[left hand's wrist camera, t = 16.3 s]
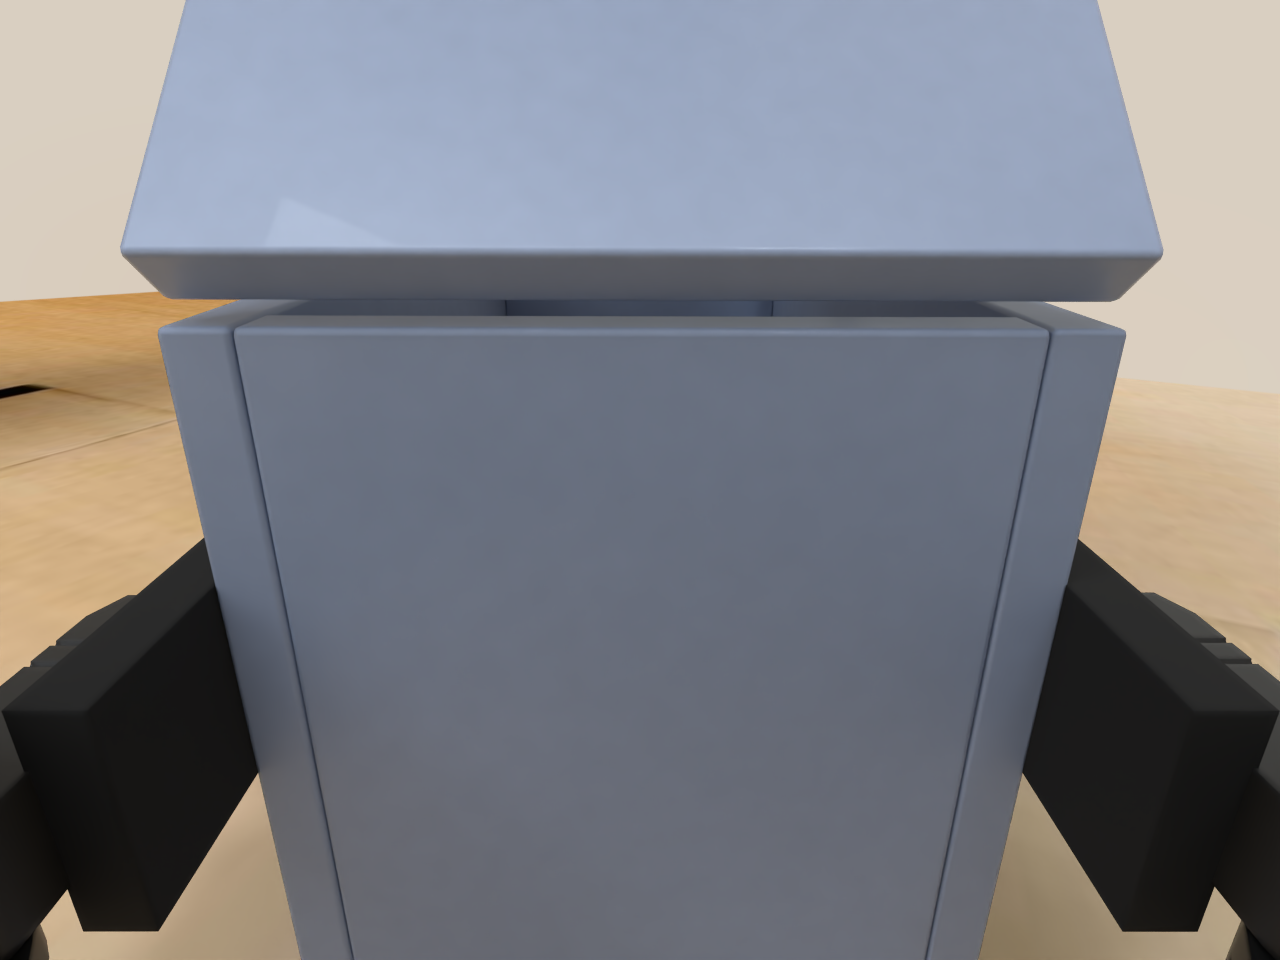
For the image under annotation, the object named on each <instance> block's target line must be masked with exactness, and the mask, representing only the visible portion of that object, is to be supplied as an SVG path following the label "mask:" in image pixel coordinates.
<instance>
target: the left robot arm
mask: <svg viewBox="0 0 1280 960" xmlns="http://www.w3.org/2000/svg"><path fill="white" fill-rule="evenodd" d="M1022 772H1023V774H1024V776H1025V777H1026V779H1027V780H1028V782H1029V784H1030V785H1031V787H1032V788H1033V790H1034V792H1035V793H1036V795H1037V796H1038V798H1039V799H1040V801H1041V803H1042V804H1043V806H1044V807H1045V809H1046V811H1047V812H1048V814H1049V815H1050V817H1051V819H1052V820H1053V822H1054V823H1055V825H1056V826H1057V828H1058V830H1059V831H1060V833H1061V834H1062V836H1063V838H1064V839H1065V841H1066V842H1067V844H1068V846H1069V847H1070V849H1071V850H1072V852H1073V853H1074V855H1075V857H1076V858H1077V860H1078V861H1079V863H1080V865H1081V866H1082V868H1083V869H1084V871H1085V873H1086V874H1087V876H1088V877H1089V879H1090V881H1091V882H1092V884H1093V885H1094V887H1095V888H1096V890H1097V892H1098V893H1099V895H1100V896H1101V898H1102V900H1103V901H1104V903H1105V904H1106V906H1107V908H1108V909H1109V911H1110V912H1111V914H1112V915H1113V917H1114V919H1115V920H1116V922H1117V923H1118V925H1119V927H1120V928H1121V930H1122V931H1123V932H1198V929H1199V927H1200V924H1201V921H1202V919H1203V916H1204V913H1205V910H1206V908H1207V905H1208V902H1209V900H1210V897H1211V894H1212V892H1213V889H1214V886H1215V887H1216V889H1217V890H1218V891H1219V892H1220V894H1221V895H1222V896H1223V897H1224V899H1225V900H1226V901H1227V902H1228V904H1229V905H1230V906H1231V907H1232V909H1233V910H1234V911H1235V912H1236V914H1237V915H1238V916H1239V917H1240V919H1241V922H1240V925H1239V927H1238V930H1237V932H1236V935H1235V937H1234V940H1233V942H1232V945H1231V947H1230V950H1229V952H1228V955H1227V957H1226V960H1280V681H1278V680H1277V679H1276V678H1275V677H1273V676H1272V675H1271V674H1270V673H1268V672H1267V671H1266V670H1265V669H1263V668H1262V667H1261V666H1260V665H1259V664H1252V662H1251V658H1250V657H1249V656H1247V655H1246V654H1245V653H1244V652H1242V651H1241V650H1240V649H1239V648H1237V647H1236V646H1235V645H1234V644H1233V643H1226V638H1225V637H1224V636H1223V635H1221V634H1220V633H1219V632H1218V631H1216V630H1215V629H1214V628H1213V627H1211V626H1210V625H1209V624H1208V623H1206V622H1205V621H1204V620H1203V619H1202V618H1200V617H1199V616H1198V615H1197V614H1195V613H1193V612H1191V611H1189V610H1187V609H1185V608H1183V607H1181V606H1179V605H1177V604H1175V603H1173V602H1171V601H1169V600H1167V599H1165V598H1163V597H1161V596H1159V595H1157V594H1155V593H1141V592H1140V591H1139V590H1137V589H1136V588H1135V587H1134V586H1133V585H1132V584H1130V583H1129V582H1128V581H1127V580H1126V579H1125V578H1123V577H1122V576H1121V575H1120V574H1119V573H1118V572H1116V571H1115V570H1114V569H1113V568H1112V567H1111V566H1109V565H1108V564H1107V563H1106V562H1105V561H1103V560H1102V559H1101V558H1100V557H1099V556H1098V555H1096V554H1095V553H1094V552H1093V551H1092V550H1091V549H1089V548H1088V547H1087V546H1086V545H1085V544H1084V543H1082V542H1081V541H1080V540H1079V539H1078V541H1077V545H1076V549H1075V553H1074V558H1073V562H1072V566H1071V570H1070V575H1069V579H1068V583H1067V585H1066V588H1065V592H1064V596H1063V601H1062V605H1061V609H1060V614H1059V618H1058V622H1057V626H1056V631H1055V635H1054V639H1053V643H1052V648H1051V652H1050V656H1049V660H1048V665H1047V669H1046V673H1045V677H1044V682H1043V686H1042V690H1041V695H1040V699H1039V703H1038V707H1037V712H1036V716H1035V720H1034V724H1033V729H1032V733H1031V737H1030V741H1029V746H1028V750H1027V754H1026V759H1025V763H1024V767H1023V771H1022ZM257 774H258V769H257V765H256V760H255V756H254V752H253V747H252V743H251V739H250V734H249V730H248V726H247V721H246V717H245V712H244V708H243V704H242V699H241V695H240V691H239V686H238V682H237V678H236V673H235V669H234V665H233V660H232V656H231V651H230V647H229V643H228V638H227V634H226V630H225V625H224V621H223V617H222V612H221V608H220V604H219V599H218V595H217V590H216V586H215V582H214V577H213V573H212V569H211V564H210V560H209V556H208V551H207V547H206V543H205V538H203V539H202V540H201V541H200V542H198V543H197V544H196V545H195V546H194V547H193V548H191V549H190V550H189V551H188V552H187V553H186V554H184V555H183V556H182V557H181V558H180V559H178V560H177V561H176V562H175V563H174V564H173V565H171V566H170V567H169V568H168V569H167V570H166V571H164V572H163V573H162V574H161V575H160V576H159V577H157V578H156V579H155V580H154V581H153V582H152V583H150V584H149V585H148V586H147V587H146V588H145V589H143V590H142V591H141V592H140V593H139V594H137V595H127V596H125V597H123V598H121V599H120V600H118V601H116V602H114V603H112V604H110V605H108V606H106V607H104V608H102V609H100V610H98V611H96V612H94V613H92V614H90V615H88V616H86V617H85V618H84V619H82V620H81V621H80V622H79V623H78V624H76V625H75V626H74V627H73V628H71V629H70V630H69V631H68V632H66V633H65V634H64V635H63V636H62V637H60V638H59V639H58V640H57V641H56V646H49V647H48V648H47V649H46V650H44V651H43V652H42V653H41V654H39V655H38V656H37V657H36V658H35V659H33V660H32V661H31V665H30V667H23V668H22V669H21V670H20V671H19V672H17V673H16V674H15V675H14V676H12V677H11V678H10V679H9V680H7V681H6V682H5V683H4V684H3V685H1V686H0V960H49V953H48V946H47V940H46V937H45V935H44V932H43V930H42V927H41V925H40V923H41V922H42V921H43V919H44V918H45V917H46V916H47V914H48V913H49V912H50V911H51V909H52V908H53V907H54V905H55V904H56V903H57V902H58V900H59V899H60V898H61V897H62V895H63V894H64V893H65V892H66V890H67V889H68V891H69V894H70V897H71V900H72V902H73V905H74V908H75V910H76V913H77V916H78V918H79V921H80V924H81V926H82V929H83V931H159V929H160V928H161V926H162V925H163V923H164V922H165V920H166V918H167V917H168V915H169V914H170V912H171V910H172V909H173V907H174V906H175V904H176V902H177V901H178V899H179V898H180V896H181V894H182V893H183V891H184V890H185V888H186V887H187V885H188V883H189V882H190V880H191V879H192V877H193V875H194V874H195V872H196V871H197V869H198V867H199V866H200V864H201V863H202V861H203V859H204V858H205V856H206V855H207V853H208V852H209V850H210V848H211V847H212V845H213V844H214V842H215V840H216V839H217V837H218V836H219V834H220V832H221V831H222V829H223V828H224V826H225V824H226V823H227V821H228V820H229V818H230V817H231V815H232V813H233V812H234V810H235V809H236V807H237V805H238V804H239V802H240V801H241V799H242V797H243V796H244V794H245V793H246V791H247V790H248V788H249V786H250V785H251V783H252V782H253V780H254V778H255V777H256V775H257Z"/></svg>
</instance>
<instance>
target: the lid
mask: <svg viewBox="0 0 1280 960" xmlns="http://www.w3.org/2000/svg"><path fill="white" fill-rule="evenodd" d="M120 248H121V253H122V255H123V257H124V258H125V259H126V260H127V261H128V262H129V263H130V264H131V265H132V266H133V267H134V268H135V269H136V270H138V272H140V273H141V274H142V275H143V276H144V277H145V278H146V279H147V280H148V281H149V282H150V283H151V284H152V285H153V286H154V287H155V288H156V289H157V290H158V291H159V292H160V293H161V294H162V295H163V296H165V297H167V298H170V299H262V300H639V301H1015V302H1111V301H1115V300H1117V299H1119V298H1121V297H1122V296H1123V295H1124V294H1125V293H1126V292H1127V291H1128V290H1129V289H1130V288H1131V287H1132V286H1133V285H1134V284H1135V283H1136V282H1137V281H1138V280H1139V279H1140V278H1141V277H1143V276H1144V275H1145V274H1146V273H1147V272H1148V271H1149V270H1150V269H1151V268H1152V267H1153V266H1154V265H1155V264H1156V263H1157V262H1158V261H1159V260H1160V259H1161V257H1162V255H1163V247H1162V243H1161V239H1160V235H1159V232H1158V228H1157V224H1156V220H1155V217H1154V213H1153V209H1152V205H1151V202H1150V198H1149V194H1148V190H1147V186H1146V183H1145V179H1144V175H1143V171H1142V168H1141V164H1140V160H1139V156H1138V153H1137V149H1136V145H1135V141H1134V138H1133V134H1132V130H1131V126H1130V123H1129V119H1128V115H1127V111H1126V107H1125V104H1124V100H1123V96H1122V92H1121V89H1120V85H1119V81H1118V77H1117V74H1116V70H1115V66H1114V62H1113V58H1112V55H1111V51H1110V47H1109V43H1108V40H1107V36H1106V32H1105V28H1104V25H1103V21H1102V17H1101V13H1100V9H1099V6H1098V2H1097V0H186V2H185V6H184V9H183V13H182V17H181V21H180V24H179V28H178V32H177V36H176V39H175V43H174V47H173V51H172V55H171V58H170V62H169V66H168V69H167V73H166V77H165V81H164V85H163V88H162V92H161V96H160V100H159V103H158V107H157V111H156V115H155V118H154V122H153V126H152V130H151V133H150V137H149V141H148V145H147V148H146V152H145V156H144V160H143V163H142V167H141V171H140V175H139V178H138V182H137V186H136V190H135V193H134V197H133V201H132V205H131V209H130V212H129V216H128V220H127V224H126V227H125V231H124V235H123V239H122V242H121V246H120Z"/></svg>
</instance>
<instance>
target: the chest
mask: <svg viewBox="0 0 1280 960" xmlns="http://www.w3.org/2000/svg"><path fill="white" fill-rule="evenodd" d="M158 338H159V342H160V346H161V351H162V355H163V360H164V364H165V368H166V373H167V377H168V381H169V386H170V390H171V394H172V399H173V403H174V407H175V412H176V416H177V421H178V425H179V429H180V434H181V438H182V442H183V447H184V451H185V455H186V460H187V464H188V468H189V473H190V477H191V482H192V486H193V490H194V495H195V499H196V503H197V508H198V512H199V516H200V521H201V525H202V529H203V534H204V538H205V543H206V547H207V551H208V556H209V560H210V564H211V569H212V573H213V577H214V582H215V586H216V590H217V595H218V599H219V604H220V608H221V612H222V617H223V621H224V625H225V630H226V634H227V638H228V643H229V647H230V651H231V656H232V660H233V665H234V669H235V673H236V678H237V682H238V686H239V691H240V695H241V699H242V704H243V708H244V712H245V717H246V721H247V726H248V730H249V734H250V739H251V743H252V747H253V752H254V756H255V760H256V765H257V769H258V773H259V778H260V782H261V787H262V791H263V795H264V800H265V804H266V808H267V813H268V817H269V821H270V826H271V830H272V835H273V839H274V843H275V848H276V852H277V856H278V861H279V865H280V869H281V874H282V878H283V882H284V887H285V891H286V896H287V900H288V904H289V909H290V913H291V917H292V922H293V926H294V930H295V935H296V939H297V943H298V948H299V952H300V957H301V960H978V958H979V954H980V949H981V945H982V941H983V937H984V932H985V928H986V924H987V920H988V916H989V911H990V907H991V903H992V899H993V895H994V890H995V886H996V882H997V878H998V874H999V869H1000V865H1001V861H1002V857H1003V852H1004V848H1005V844H1006V840H1007V836H1008V831H1009V827H1010V823H1011V819H1012V815H1013V810H1014V806H1015V802H1016V798H1017V794H1018V789H1019V785H1020V781H1021V777H1022V771H1023V767H1024V763H1025V759H1026V754H1027V750H1028V746H1029V741H1030V737H1031V733H1032V729H1033V724H1034V720H1035V716H1036V712H1037V707H1038V703H1039V699H1040V695H1041V690H1042V686H1043V682H1044V677H1045V673H1046V669H1047V665H1048V660H1049V656H1050V652H1051V648H1052V643H1053V639H1054V635H1055V631H1056V626H1057V622H1058V618H1059V614H1060V609H1061V605H1062V601H1063V596H1064V592H1065V588H1066V585H1067V583H1068V579H1069V575H1070V570H1071V566H1072V562H1073V558H1074V553H1075V549H1076V545H1077V541H1078V537H1079V532H1080V528H1081V524H1082V520H1083V516H1084V511H1085V507H1086V503H1087V499H1088V494H1089V490H1090V486H1091V482H1092V478H1093V473H1094V469H1095V465H1096V461H1097V457H1098V452H1099V448H1100V444H1101V440H1102V436H1103V431H1104V427H1105V423H1106V419H1107V414H1108V410H1109V406H1110V402H1111V398H1112V393H1113V389H1114V385H1115V381H1116V377H1117V372H1118V368H1119V364H1120V360H1121V355H1122V351H1123V347H1124V343H1125V339H1126V332H1125V330H1123V329H1121V328H1118V327H1115V326H1112V325H1109V324H1106V323H1103V322H1100V321H1097V320H1094V319H1091V318H1088V317H1086V316H1083V315H1080V314H1077V313H1074V312H1071V311H1068V310H1065V309H1062V308H1059V307H1056V306H1054V305H1051V304H1048V303H1045V302H1015V301H639V300H262V299H241V300H238V301H235V302H233V303H230V304H227V305H224V306H221V307H218V308H215V309H212V310H209V311H206V312H203V313H201V314H198V315H195V316H192V317H189V318H186V319H183V320H180V321H177V322H174V323H171V324H168V325H166V326H163V327H161V328H160V329H159V330H158Z"/></svg>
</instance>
